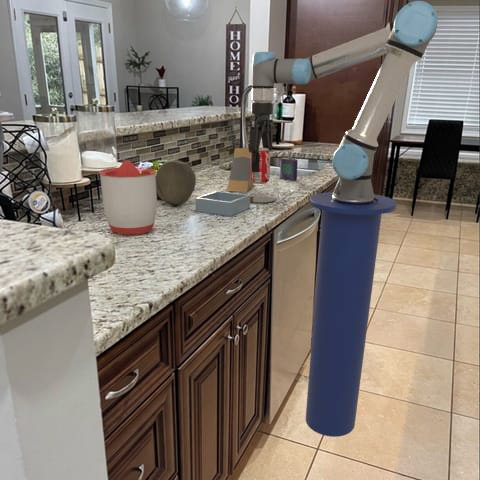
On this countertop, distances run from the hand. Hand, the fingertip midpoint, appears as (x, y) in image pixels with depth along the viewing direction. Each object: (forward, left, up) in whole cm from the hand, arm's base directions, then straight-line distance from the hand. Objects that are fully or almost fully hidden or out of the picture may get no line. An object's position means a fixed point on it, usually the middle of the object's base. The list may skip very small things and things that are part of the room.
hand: (260, 170), depth 181 cm
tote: (+4, +20, -11) cm, 23 cm away
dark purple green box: (+8, -46, -11) cm, 48 cm away
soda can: (0, 0, -5) cm, 5 cm away
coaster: (0, 0, -11) cm, 11 cm away
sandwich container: (+17, -17, -11) cm, 26 cm away
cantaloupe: (+22, +22, -11) cm, 33 cm away
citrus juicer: (+14, +55, -11) cm, 58 cm away
